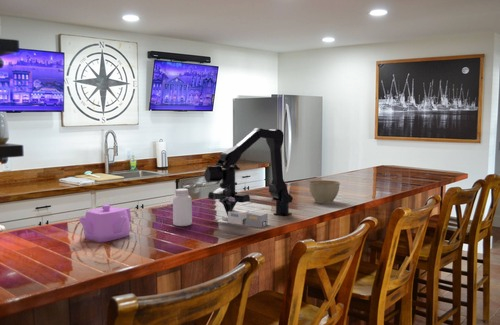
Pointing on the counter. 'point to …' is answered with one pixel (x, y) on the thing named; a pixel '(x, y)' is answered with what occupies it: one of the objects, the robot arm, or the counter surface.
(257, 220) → the mounted module
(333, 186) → the planter bowl
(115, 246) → the counter surface
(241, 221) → the block
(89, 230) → the teakettle
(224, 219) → the rail
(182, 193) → the pill bottle
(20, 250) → the counter surface
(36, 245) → the counter surface
